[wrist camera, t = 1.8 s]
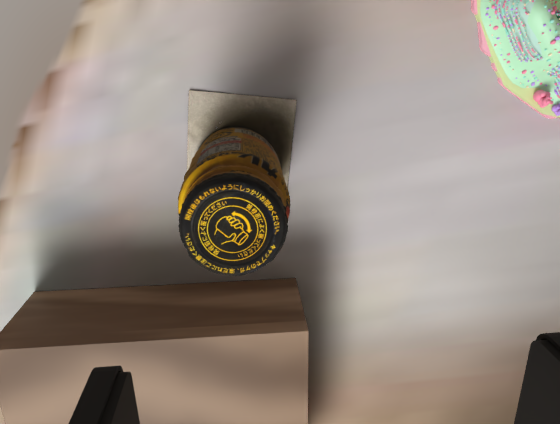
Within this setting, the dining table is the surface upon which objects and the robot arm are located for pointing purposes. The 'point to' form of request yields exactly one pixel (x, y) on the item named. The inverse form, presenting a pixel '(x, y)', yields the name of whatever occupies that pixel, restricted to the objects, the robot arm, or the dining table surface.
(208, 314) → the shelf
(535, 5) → the pastel sphere sculpture
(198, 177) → the condiment
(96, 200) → the dining table surface
